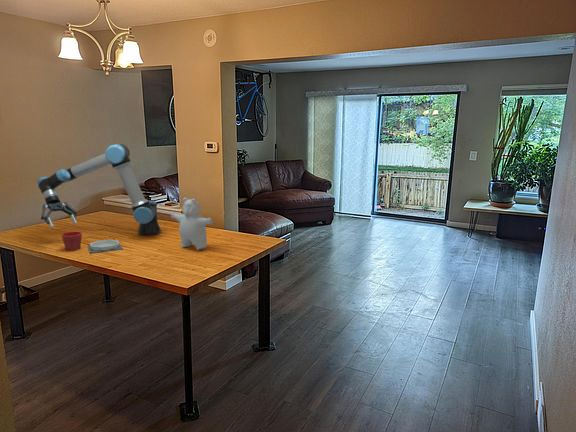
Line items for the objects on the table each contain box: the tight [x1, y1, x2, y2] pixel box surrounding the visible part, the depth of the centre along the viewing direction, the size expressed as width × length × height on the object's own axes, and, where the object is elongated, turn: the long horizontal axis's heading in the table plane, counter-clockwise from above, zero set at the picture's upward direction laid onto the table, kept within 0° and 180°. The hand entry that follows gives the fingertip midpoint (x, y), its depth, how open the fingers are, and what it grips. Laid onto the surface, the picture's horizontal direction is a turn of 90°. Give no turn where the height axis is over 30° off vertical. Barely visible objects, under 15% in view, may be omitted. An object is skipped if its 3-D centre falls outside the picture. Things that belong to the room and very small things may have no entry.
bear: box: [170, 197, 214, 251], centre depth 245 cm, size 35×14×32 cm, turn 60°
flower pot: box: [61, 231, 83, 252], centre depth 241 cm, size 11×11×10 cm
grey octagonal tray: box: [87, 239, 124, 254], centre depth 245 cm, size 18×18×3 cm
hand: (64, 225), depth 244 cm, fingers open, 13 cm apart
